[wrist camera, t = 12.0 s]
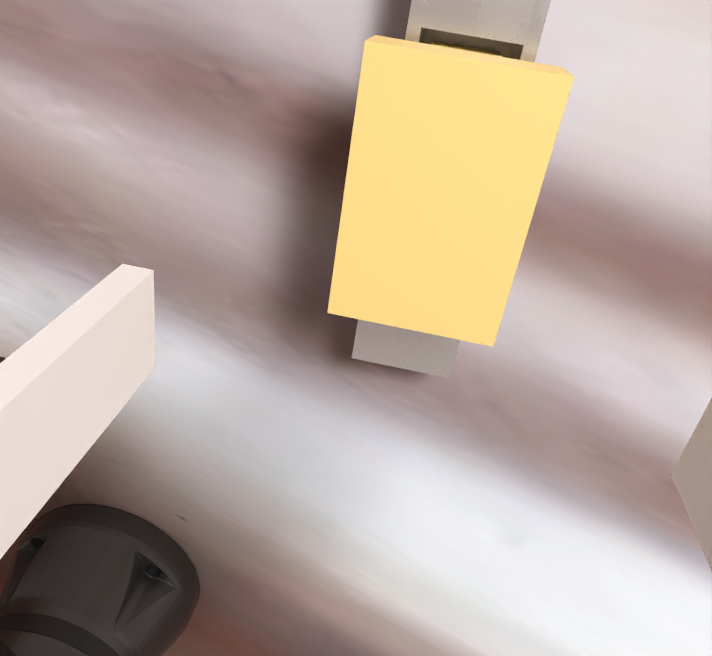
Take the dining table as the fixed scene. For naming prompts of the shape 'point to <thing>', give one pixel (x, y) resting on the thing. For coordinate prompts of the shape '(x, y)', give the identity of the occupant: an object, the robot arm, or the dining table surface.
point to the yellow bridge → (442, 184)
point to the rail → (476, 30)
